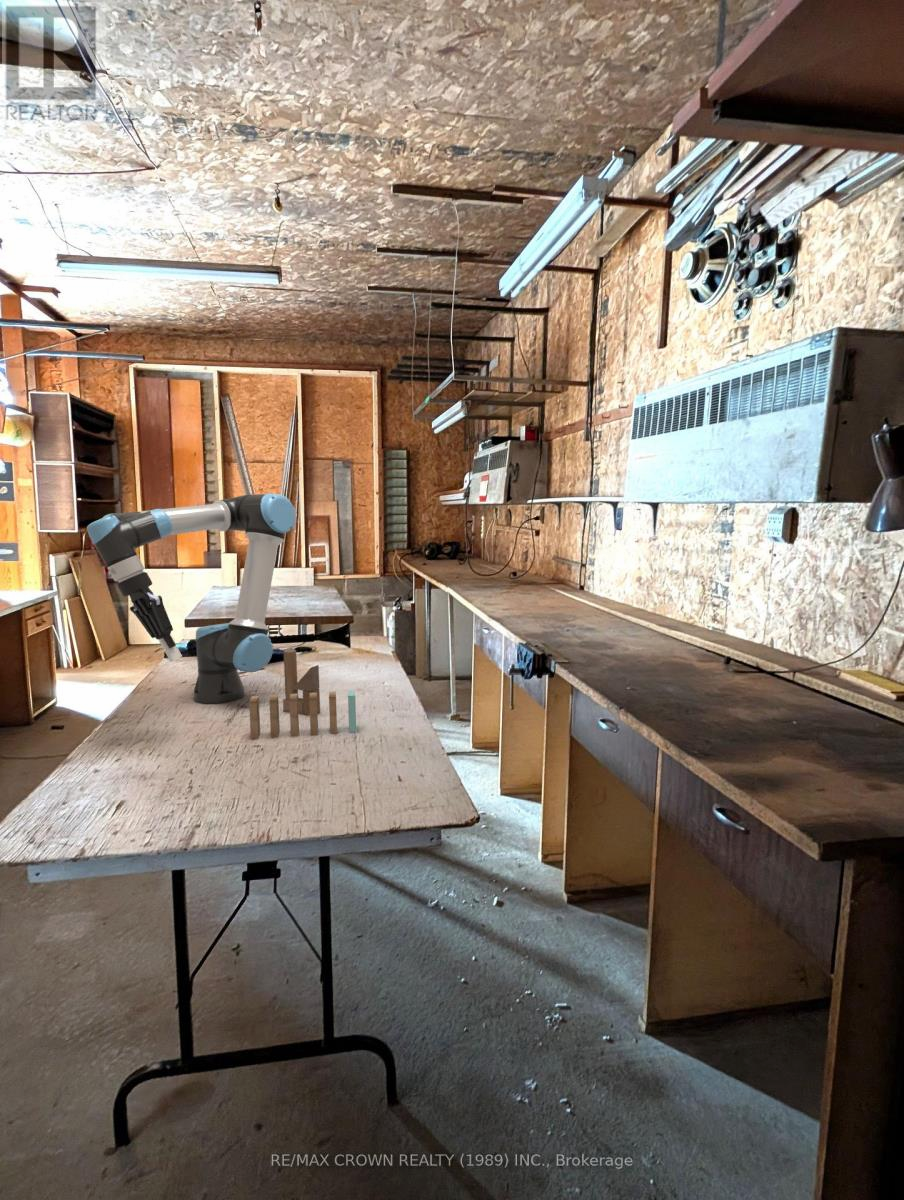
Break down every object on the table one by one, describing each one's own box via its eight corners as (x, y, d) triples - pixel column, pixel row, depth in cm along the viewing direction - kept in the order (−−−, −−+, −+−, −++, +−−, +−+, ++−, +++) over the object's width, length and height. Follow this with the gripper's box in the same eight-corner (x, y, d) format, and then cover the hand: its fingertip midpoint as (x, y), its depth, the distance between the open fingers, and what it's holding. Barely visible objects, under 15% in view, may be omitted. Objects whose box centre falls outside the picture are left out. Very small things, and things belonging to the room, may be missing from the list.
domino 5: (330, 727, 176) (329, 691, 174) (336, 727, 176) (335, 691, 175) (330, 734, 171) (328, 697, 169) (337, 733, 171) (335, 696, 170)
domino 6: (348, 726, 177) (347, 690, 175) (355, 726, 177) (354, 690, 176) (349, 732, 172) (348, 695, 170) (356, 732, 172) (355, 695, 171)
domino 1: (253, 732, 172) (251, 696, 171) (260, 732, 173) (258, 695, 171) (250, 739, 167) (249, 701, 166) (258, 738, 168) (256, 701, 166)
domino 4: (311, 729, 175) (309, 692, 173) (318, 728, 175) (316, 692, 174) (310, 735, 170) (309, 698, 169) (317, 734, 170) (316, 697, 169)
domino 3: (292, 730, 174) (290, 693, 173) (299, 729, 174) (297, 693, 173) (290, 736, 169) (289, 699, 168) (298, 736, 169) (296, 698, 168)
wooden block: (313, 716, 186) (310, 654, 183) (282, 711, 190) (280, 651, 188) (320, 712, 189) (318, 651, 187) (290, 708, 194) (288, 648, 191)
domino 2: (272, 731, 173) (271, 695, 172) (279, 731, 173) (278, 694, 172) (271, 738, 168) (269, 700, 167) (278, 737, 169) (276, 700, 167)
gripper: (106, 587, 165) (152, 669, 170) (128, 577, 157) (176, 663, 162) (132, 576, 170) (176, 655, 175) (155, 565, 162) (201, 648, 167)
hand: (176, 658), depth 169 cm, fingers closed
